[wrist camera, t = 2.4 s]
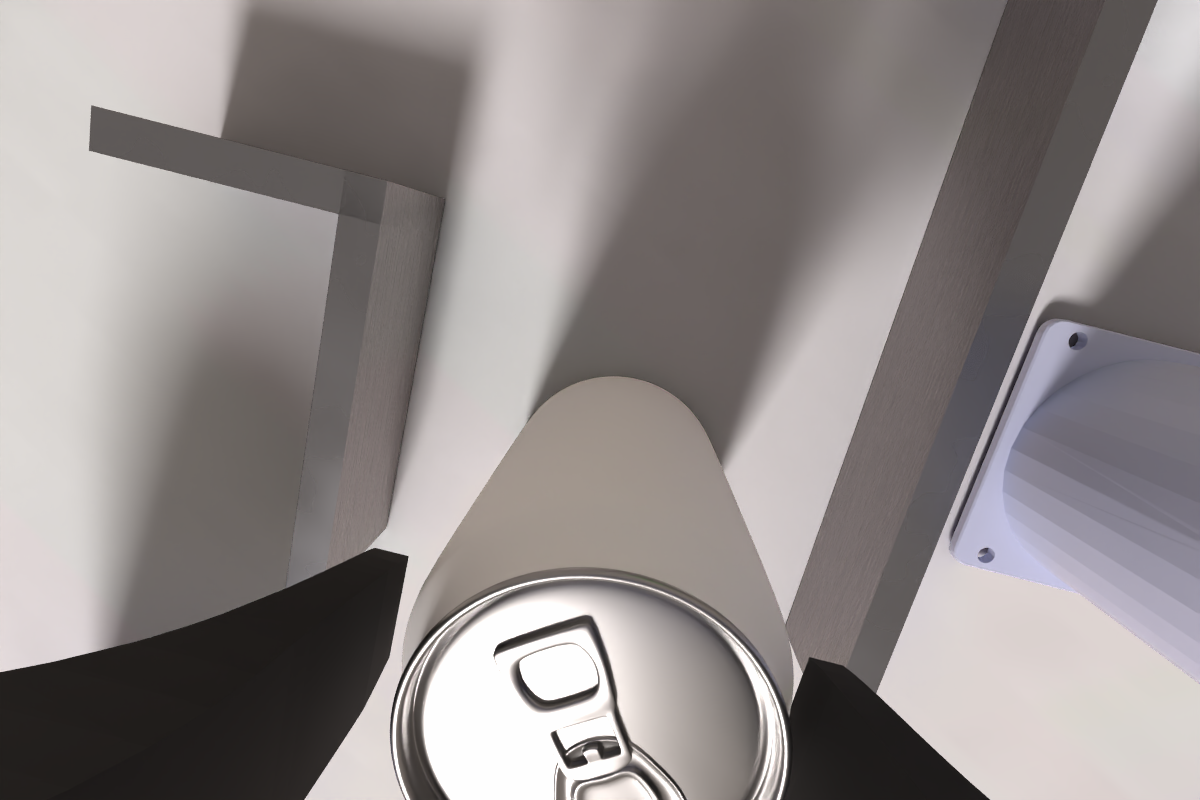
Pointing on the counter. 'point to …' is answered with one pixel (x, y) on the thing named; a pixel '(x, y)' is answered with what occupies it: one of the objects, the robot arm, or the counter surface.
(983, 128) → the rail channel
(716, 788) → the can
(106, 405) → the counter surface
